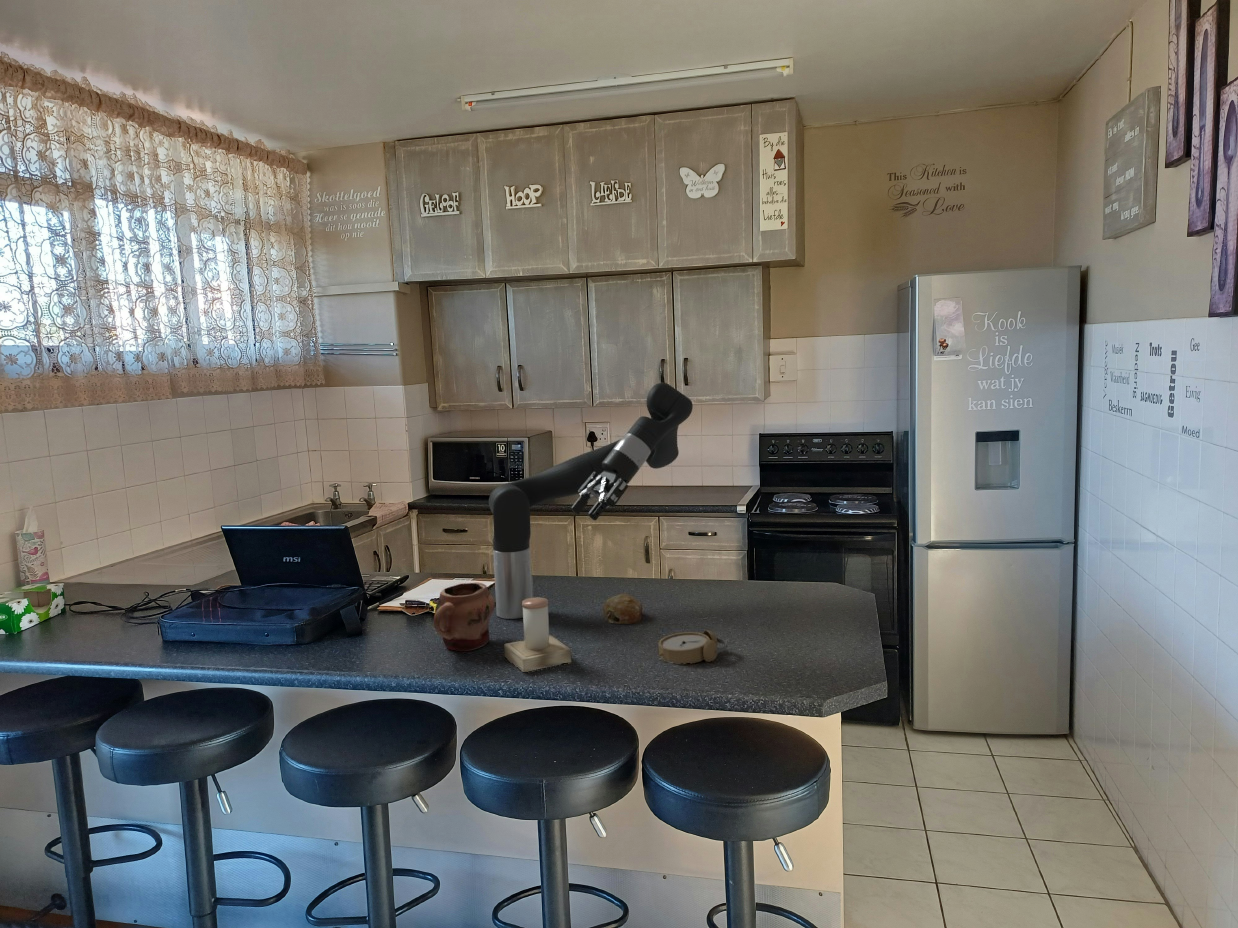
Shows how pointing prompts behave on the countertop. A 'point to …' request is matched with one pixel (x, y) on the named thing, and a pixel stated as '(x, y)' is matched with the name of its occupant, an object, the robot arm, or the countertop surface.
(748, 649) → the countertop surface
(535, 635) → the canister
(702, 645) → the alarm clock
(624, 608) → the bread roll
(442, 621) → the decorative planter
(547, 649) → the plinth
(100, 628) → the countertop surface
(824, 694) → the countertop surface
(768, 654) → the countertop surface
